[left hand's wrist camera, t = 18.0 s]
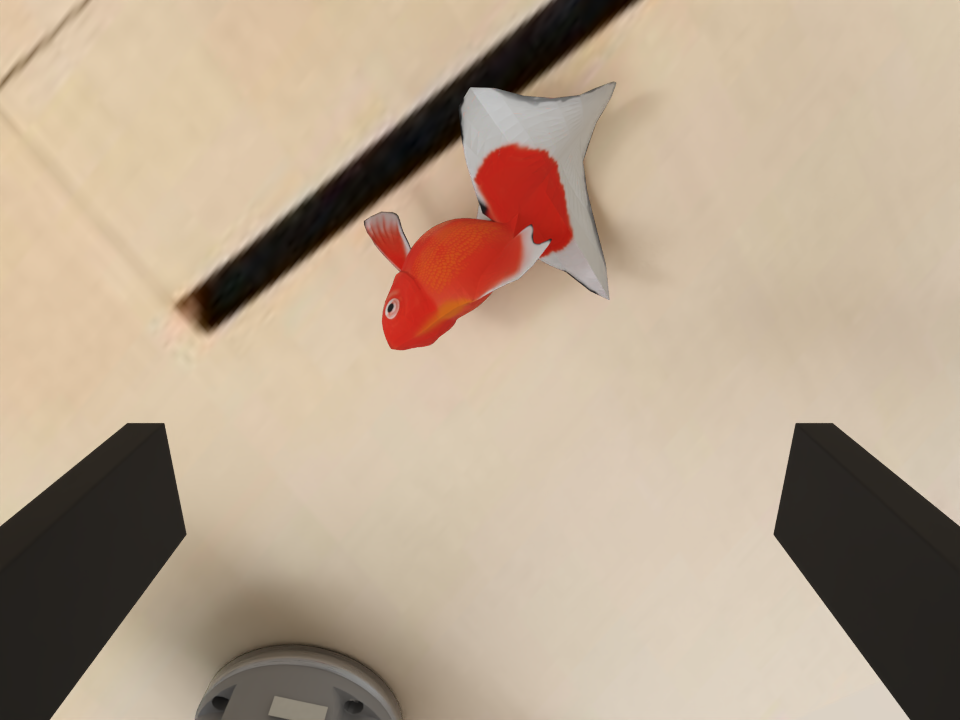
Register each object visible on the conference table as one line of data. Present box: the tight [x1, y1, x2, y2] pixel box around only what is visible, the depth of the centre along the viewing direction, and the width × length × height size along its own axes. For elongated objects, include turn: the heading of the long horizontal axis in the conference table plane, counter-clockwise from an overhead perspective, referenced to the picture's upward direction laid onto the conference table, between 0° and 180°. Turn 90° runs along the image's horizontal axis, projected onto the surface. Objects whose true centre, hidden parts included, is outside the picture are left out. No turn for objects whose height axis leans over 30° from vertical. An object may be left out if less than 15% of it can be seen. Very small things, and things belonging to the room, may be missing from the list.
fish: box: [364, 82, 616, 350], centre depth 29 cm, size 11×16×10 cm
